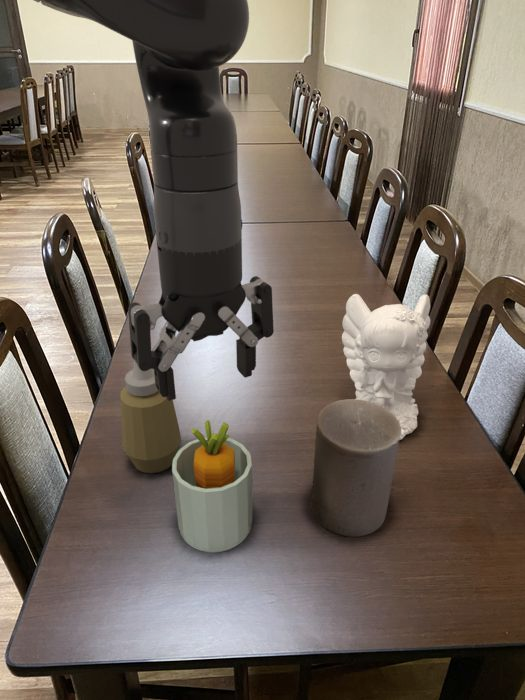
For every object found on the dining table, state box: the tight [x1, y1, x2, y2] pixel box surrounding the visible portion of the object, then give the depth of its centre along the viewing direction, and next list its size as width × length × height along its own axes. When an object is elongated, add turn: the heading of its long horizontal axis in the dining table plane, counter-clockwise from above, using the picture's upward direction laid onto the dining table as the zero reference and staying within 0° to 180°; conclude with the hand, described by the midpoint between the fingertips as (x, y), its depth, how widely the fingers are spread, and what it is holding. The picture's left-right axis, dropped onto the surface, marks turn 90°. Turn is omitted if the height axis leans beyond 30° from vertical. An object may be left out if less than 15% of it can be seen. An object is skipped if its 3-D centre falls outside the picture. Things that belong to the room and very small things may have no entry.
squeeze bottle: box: [119, 359, 182, 474], centre depth 71 cm, size 8×8×18 cm
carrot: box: [190, 419, 235, 489], centre depth 62 cm, size 5×5×15 cm
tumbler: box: [171, 436, 253, 553], centre depth 64 cm, size 9×9×10 cm
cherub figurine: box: [341, 293, 431, 441], centre depth 80 cm, size 13×12×20 cm
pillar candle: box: [310, 398, 401, 538], centre depth 65 cm, size 10×10×15 cm
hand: (207, 384), depth 56 cm, fingers open, 8 cm apart
